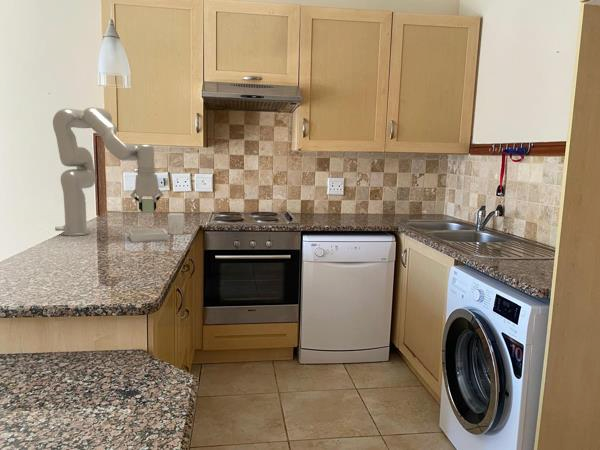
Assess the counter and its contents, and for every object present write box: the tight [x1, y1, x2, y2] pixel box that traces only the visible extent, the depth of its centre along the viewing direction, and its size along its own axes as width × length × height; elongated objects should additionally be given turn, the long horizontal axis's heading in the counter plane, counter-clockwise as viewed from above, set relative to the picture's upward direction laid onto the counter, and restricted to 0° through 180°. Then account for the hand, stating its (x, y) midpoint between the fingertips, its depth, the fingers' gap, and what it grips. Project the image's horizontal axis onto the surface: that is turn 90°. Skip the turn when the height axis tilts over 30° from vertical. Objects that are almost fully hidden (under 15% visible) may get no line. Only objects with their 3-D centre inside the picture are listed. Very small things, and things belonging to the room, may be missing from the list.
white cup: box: [167, 212, 185, 236], centre depth 243 cm, size 8×8×10 cm
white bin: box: [128, 227, 169, 243], centre depth 228 cm, size 16×16×4 cm
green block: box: [141, 198, 155, 214], centre depth 226 cm, size 5×5×6 cm
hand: (147, 210), depth 226 cm, fingers closed on green block, 5 cm apart
